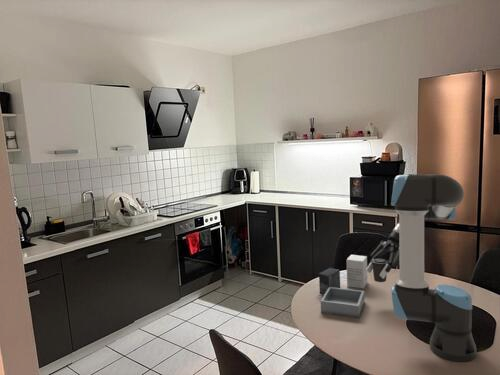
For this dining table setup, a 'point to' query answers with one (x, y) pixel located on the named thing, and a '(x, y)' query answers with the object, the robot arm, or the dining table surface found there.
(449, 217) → the robot arm
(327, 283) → the small box
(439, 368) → the dining table surface
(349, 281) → the supplement box
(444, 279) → the dining table surface
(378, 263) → the coffee cup
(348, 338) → the dining table surface
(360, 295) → the bin
